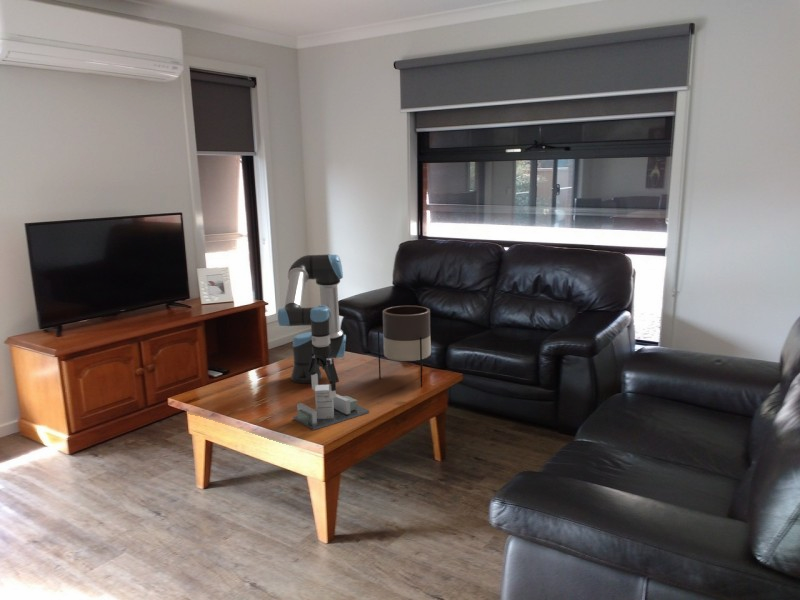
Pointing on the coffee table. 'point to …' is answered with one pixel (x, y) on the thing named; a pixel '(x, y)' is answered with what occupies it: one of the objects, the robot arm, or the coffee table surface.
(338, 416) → the vise
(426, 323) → the planter
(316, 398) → the supplement box
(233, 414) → the coffee table surface
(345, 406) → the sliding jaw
